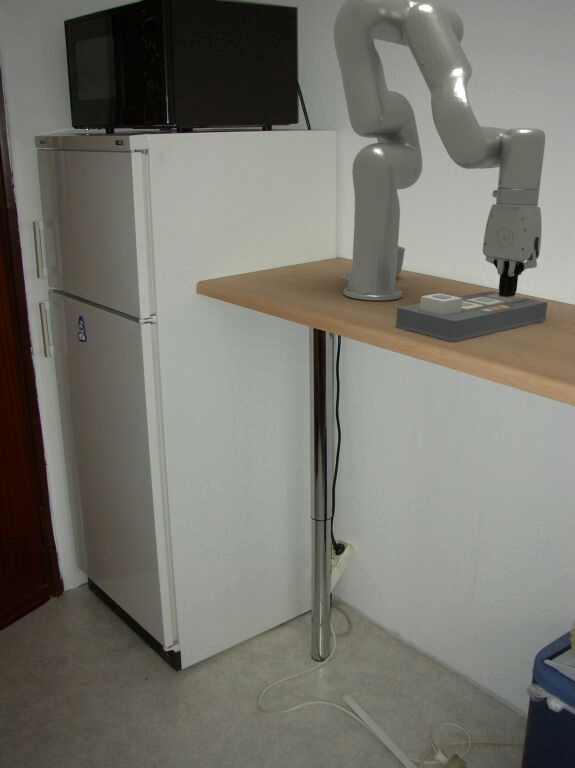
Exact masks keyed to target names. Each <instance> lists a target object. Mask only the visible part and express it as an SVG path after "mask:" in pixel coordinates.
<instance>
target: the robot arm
mask: <svg viewBox="0 0 575 768" xmlns="http://www.w3.org/2000/svg"><path fill="white" fill-rule="evenodd" d="M464 31H465V29H464V22H463V19H462V18H461V16H460V14H459V12H457V11H456V10H454V9H453V8H451V7H449V6H446V5H442V4H439V3H435V2H432V1H422V2H419V1H415V0H344V2H343V3H342V4H341V6H340V8H339V10H338V12H337V15H336V17H335V22H334V26H333V44H334V49H335V52H336V53H335V54H336V57H337V60H338V65H339V69H340V75H341V80H342V86H343V91H344V92H343V93H344V97H345V101H346V107H347V113H348V117H349V119H348V120H349V123H350V126H351V129H352V130H353V132H354V133H355V134H356V135H358V136H360V137H363V138H368V139H369V138H370V139H376V140H377V142H375V143H371V144H368V145H365V146H363V148H361V149H360V150H359V152H358V153H357V154H356V155H355V158H354V159H353V163H352V173H351V174H352V183H353V191H354V216H353V217H354V219H353V221H354V223H353V226H354V227H353V240H352V241H353V244H352V248H353V249H352V261H351V263H352V265H351V271H349V270H347V271H346V272H345V273H343V274H342V275H341V280H342V281H345V282H347V286H346V287H344V289H343V295H344V296H345V297H348V298H352V299H357V300H361V301H362V300H363V301H374V302H377V301H380V302H382V301H393V300H397V299H398V300H399V299H400V298H401V297H402V295H403V290H401V289H400V288H397V287H396V283H397V282H396V278H397V276H396V267H397V253H398V246H399V235H400V223H401V222H400V218H401V207H400V199H399V194H398V190H404V189H408V188H411V187H413V185H415V184H416V183H417V181H418V180H419V179H420V176H421V174H422V170H423V155H422V150H421V144H420V139H419V138H420V137H419V132H418V127H417V122H416V115H415V111H414V109H413V107H412V105H411V103H410V101H409V100H408V98H407V97H405V96H404V95H403V94H401V93H399V92H397V91H392V90H389V89H388V85H387V82H386V77H385V73H384V72H385V71H384V66H383V61H382V59H381V57H380V55H379V52H378V51H377V48H376V46H375V41H374V40H379V41H384V42H386V43H387V42H388V43H391V44H392V43H393V44H396V45H401V46H404V47H408V48H409V50H410V53H411V55H412V57H413V59H414V61H415V64H416V65H417V67H418V69H419V72H420V73H421V75H422V77H423V79H424V81H425V83H426V86H427V87H428V90H429V93H430V107H431V114H432V120H433V124H434V127H435V130H436V132H437V134H438V136H439V138H440V140H441V142H442V144H443V145H442V146H443V147H444V148H445V151H446V153H447V154H448V156H449V157H450V159H451V160H452V161H453V163H455V165H457V166H458V167H460V168H463V169H466V170H469V169H470V170H472V169H473V170H475V169H476V170H477V169H479V170H480V169H482V170H483V169H485V170H486V169H493V168H498V169H499V171H498V181H497V188H496V189H495V190H493V191H492V197H493V198H496V199H495V203H494V204H492V205H491V207H490V211H489V213H488V217H487V220H486V225H485V230H484V236H483V241H482V242H483V244H482V254H483V255H484V256H485V261H486V262H488V263H490V264H492V265H494V267H495V269H496V272H497V275H499V282H498V283H499V284H498V292H499V296H504V297H509V296H514V295H516V292H517V289H518V280H519V276H521V275H522V273H523V272H524V271H525V270H528V269H534V268H535V269H536V268H537V265H538V263H537V259H539V257H540V253H541V244H542V230H543V229H542V211H541V207H540V206H539V197H540V196H539V195H540V189H541V181H542V172H543V171H542V170H543V166H544V165H543V164H544V163H543V162H544V155H545V147H546V133H545V132H544V131H543V130H542V129H539V128H526V127H523V128H521V127H518V128H514V127H513V128H508V129H505V128H498V127H491V126H482V125H480V124H479V122H478V119H477V117H476V116H475V114H474V112H473V109H472V108H471V104H470V101H469V99H468V93H467V87H468V82H469V81H470V79H471V77H472V75H473V68H472V66H471V64H470V62H469V60H468V57H467V56H466V53H465V51H464V50H463V47H462V46H461V42H462V41H463V38H464Z"/></svg>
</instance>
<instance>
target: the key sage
mask: <svg viewBox="0 0 575 768" xmlns="http://www.w3.org/2000/svg"><path fill="white" fill-rule="evenodd" d="M466 302H471V303H475V304H480V305H484V306H485V307H493V306H498V305H503V304H505V301H501V300H496V299H491V298H487V297H478V298H472V299H467V300H466Z"/></svg>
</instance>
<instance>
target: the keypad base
mask: <svg viewBox="0 0 575 768" xmlns="http://www.w3.org/2000/svg"><path fill="white" fill-rule="evenodd" d="M497 293H499V291H498V292H497V291H492V290H490V291H489V290H488V291H483V292H482V291H481V292H479V293H478V292H476V293H471V294H467V295H466V294H465V295H461V296H458V297H459V298H463V301H466V300H467V299H472V298H478V297H486V296H487V295H492V294H497ZM547 309H548V301H543V300H538V299H534V298H529V297H525V300H523V301H518V302H513V303H506V302H505V304H503V305H498V306H493V307H485V306H484V308H483V309H477V310H472V311H467V312H466V311H462V312H461V313H457V314H452V315H447V316H439V315H435V314H431V313H427V312H423V311H420V303H415V304H410V305H409V304H408V305H403V306H398V307H397V308H396V318H395V319H396V321H395V327H396V328H399V329H403V330H406V329H407V330H406V331H410V330H411V331H410V332H413V331H414V333H417V334H421V335H425V336H428V335H429V337H432V336H433V338H436V339H439V338H440V340H444V341H447V342H451V343H454V342H455V343H456V342H459V341H462V340H467V339H472V338H476V337H480V336H481V337H482V336H484V335H489V334H493V333H497V332H502V331H506V330H510V329H514V328H519V327H523V326H527V325H531V324H537V323H541V322H544V321H546V316H547Z"/></svg>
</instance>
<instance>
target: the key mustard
mask: <svg viewBox="0 0 575 768" xmlns="http://www.w3.org/2000/svg"><path fill="white" fill-rule="evenodd" d="M486 297H487V298H491V299H496V300H501V301H505V302H506V303H513V302H518V301H523V300H525V298H526V297H525V296H522V295H517V294H515V295H514V296H509V297H504V296H499V293H497V294H492V295H487V296H486Z"/></svg>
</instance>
